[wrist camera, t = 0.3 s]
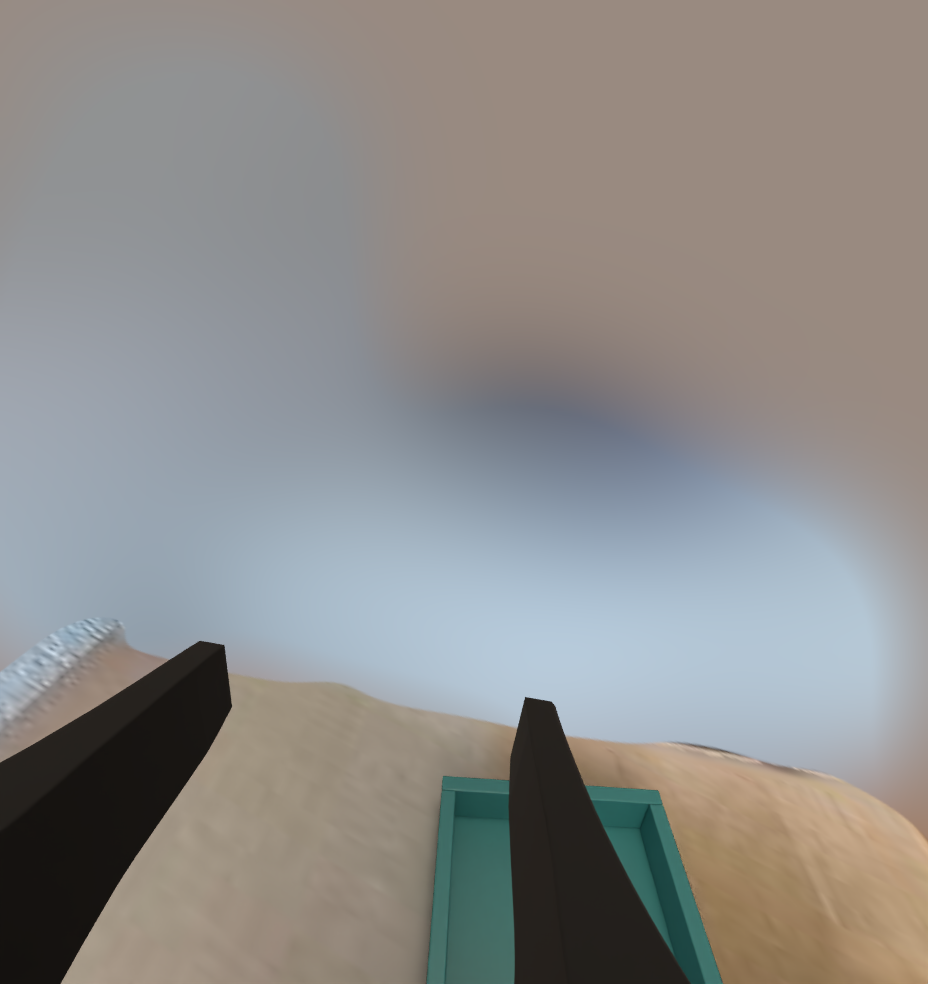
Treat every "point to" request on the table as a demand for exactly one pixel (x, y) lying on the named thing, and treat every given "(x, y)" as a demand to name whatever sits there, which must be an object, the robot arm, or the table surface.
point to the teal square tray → (488, 882)
